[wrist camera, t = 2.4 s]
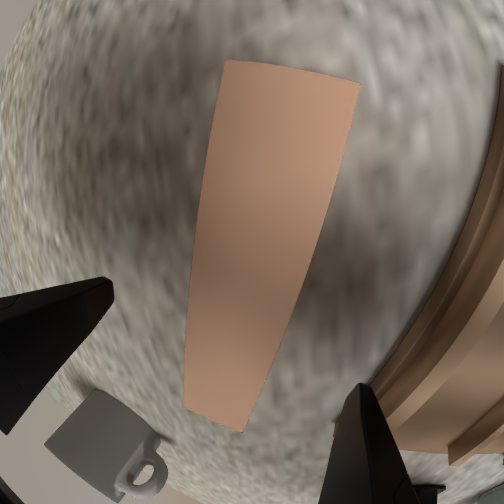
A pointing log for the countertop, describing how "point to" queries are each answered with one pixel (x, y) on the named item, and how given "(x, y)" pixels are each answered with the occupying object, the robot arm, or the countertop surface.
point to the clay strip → (258, 226)
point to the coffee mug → (109, 448)
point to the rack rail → (453, 329)
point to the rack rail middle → (477, 436)
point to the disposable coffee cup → (493, 496)
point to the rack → (485, 350)
